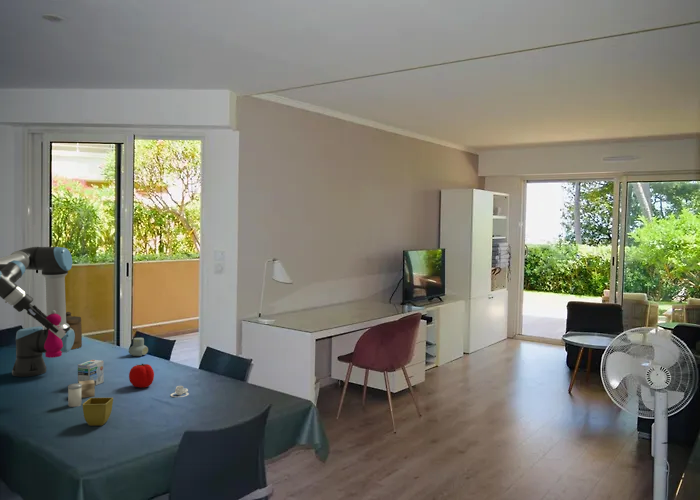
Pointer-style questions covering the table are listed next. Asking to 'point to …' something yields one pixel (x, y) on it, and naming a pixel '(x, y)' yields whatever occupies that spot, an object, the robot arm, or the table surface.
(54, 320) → the pepper mill
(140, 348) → the air freshener
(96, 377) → the light bulb box
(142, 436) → the table surface
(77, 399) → the salt shaker
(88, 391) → the light oak block
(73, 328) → the wooden container
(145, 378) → the tomato
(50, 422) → the table surface
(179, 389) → the teacup and saucer
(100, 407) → the flower pot
